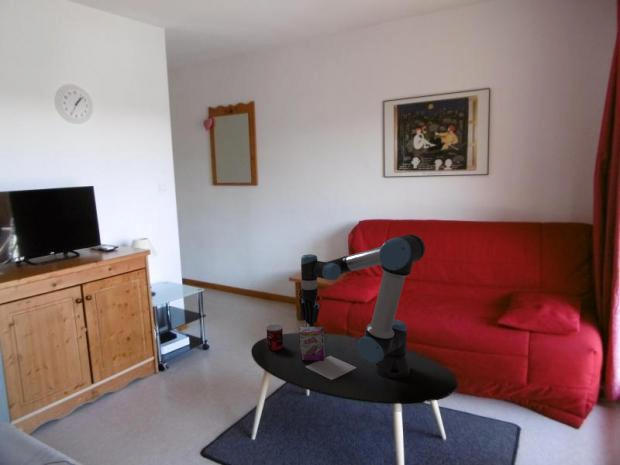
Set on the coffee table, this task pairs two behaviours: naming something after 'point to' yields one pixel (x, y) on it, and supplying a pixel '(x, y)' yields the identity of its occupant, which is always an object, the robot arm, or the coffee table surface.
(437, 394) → the coffee table surface
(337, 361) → the mat
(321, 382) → the coffee table surface
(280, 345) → the canned food
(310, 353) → the candy bar box
